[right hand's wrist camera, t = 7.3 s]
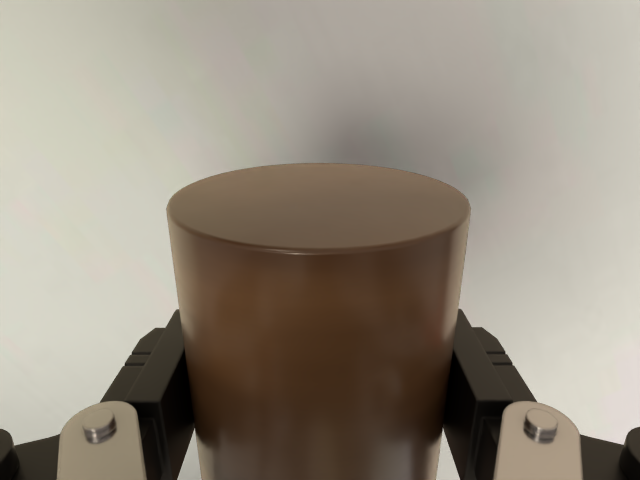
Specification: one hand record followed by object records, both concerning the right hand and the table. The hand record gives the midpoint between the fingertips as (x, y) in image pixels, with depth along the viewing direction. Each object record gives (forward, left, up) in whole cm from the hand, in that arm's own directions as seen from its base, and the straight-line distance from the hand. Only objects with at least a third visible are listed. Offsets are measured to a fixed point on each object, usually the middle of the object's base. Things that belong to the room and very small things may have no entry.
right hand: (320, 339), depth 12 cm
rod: (+6, +6, -2) cm, 8 cm away
